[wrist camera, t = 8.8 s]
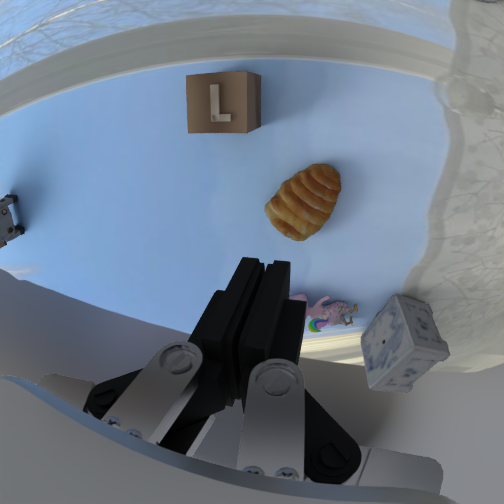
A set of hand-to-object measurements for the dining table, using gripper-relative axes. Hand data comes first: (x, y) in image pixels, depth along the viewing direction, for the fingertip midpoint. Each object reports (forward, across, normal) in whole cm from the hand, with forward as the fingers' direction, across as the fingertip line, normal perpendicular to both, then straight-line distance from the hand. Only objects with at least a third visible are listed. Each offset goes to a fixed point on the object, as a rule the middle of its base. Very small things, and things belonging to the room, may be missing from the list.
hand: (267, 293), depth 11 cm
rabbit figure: (+24, 0, +21) cm, 32 cm away
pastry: (+25, +1, +6) cm, 25 cm away
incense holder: (+24, -14, +23) cm, 36 cm away
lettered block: (+24, +9, -6) cm, 27 cm away
